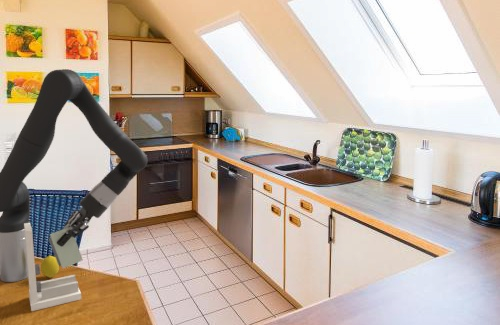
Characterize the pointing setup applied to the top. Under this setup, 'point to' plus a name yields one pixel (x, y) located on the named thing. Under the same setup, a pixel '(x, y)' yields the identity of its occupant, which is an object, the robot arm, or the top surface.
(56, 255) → the pale green slab
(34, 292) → the white tall l-shaped piece
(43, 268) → the lemon
